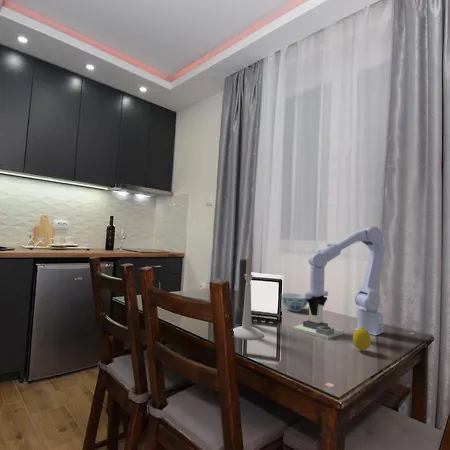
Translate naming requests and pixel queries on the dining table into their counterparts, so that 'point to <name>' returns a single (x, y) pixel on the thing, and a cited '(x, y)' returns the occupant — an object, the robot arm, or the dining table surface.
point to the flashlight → (241, 292)
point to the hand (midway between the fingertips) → (316, 314)
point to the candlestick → (247, 311)
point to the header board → (312, 331)
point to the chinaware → (294, 301)
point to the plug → (319, 316)
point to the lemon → (361, 339)
